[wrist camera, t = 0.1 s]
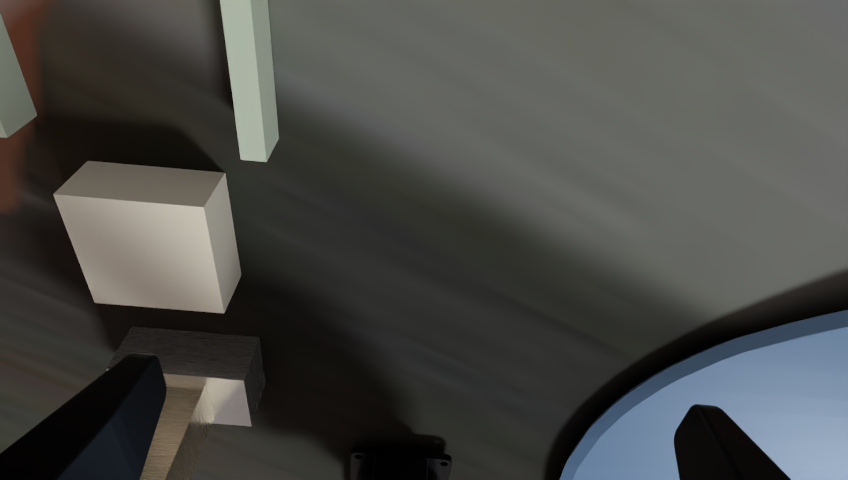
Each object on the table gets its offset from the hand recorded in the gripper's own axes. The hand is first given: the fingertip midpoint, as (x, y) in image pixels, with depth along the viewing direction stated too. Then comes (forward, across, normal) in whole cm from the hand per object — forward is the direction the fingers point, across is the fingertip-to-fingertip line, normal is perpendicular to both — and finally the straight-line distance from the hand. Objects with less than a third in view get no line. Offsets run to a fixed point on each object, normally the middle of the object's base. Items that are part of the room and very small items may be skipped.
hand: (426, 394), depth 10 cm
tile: (+15, +12, +9) cm, 21 cm away
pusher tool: (+15, +12, +18) cm, 27 cm away
